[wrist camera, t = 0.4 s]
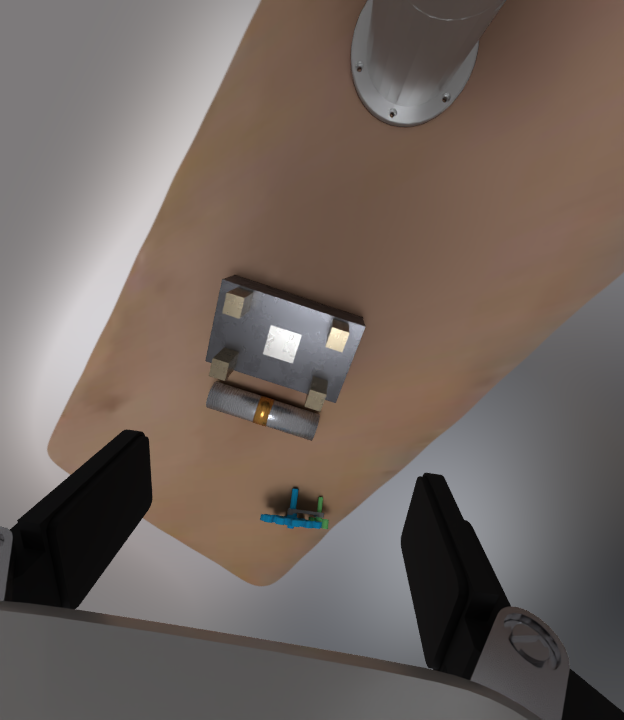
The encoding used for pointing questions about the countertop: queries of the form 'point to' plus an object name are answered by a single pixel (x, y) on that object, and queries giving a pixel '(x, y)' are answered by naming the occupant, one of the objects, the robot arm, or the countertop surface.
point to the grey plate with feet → (282, 339)
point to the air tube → (262, 410)
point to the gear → (292, 516)
